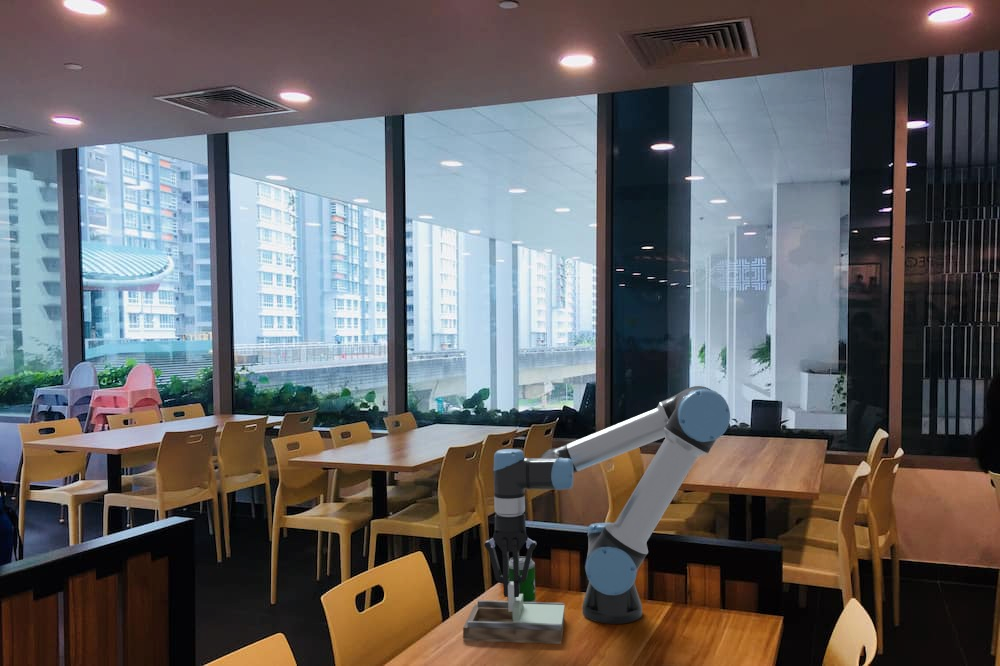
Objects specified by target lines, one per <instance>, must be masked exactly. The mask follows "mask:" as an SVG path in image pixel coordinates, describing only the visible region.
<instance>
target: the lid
mask: <svg viewBox="0 0 1000 666" xmlns="http://www.w3.org/2000/svg"><path fill="white" fill-rule="evenodd" d="M565 606H566V605H565V604H564V605H548V604H523V594H519V597H516V599H515V601H514V604H513V607H512V610H513V620H514V621H513V623H541V624H561V627H562V623H563V616H564V617H565V608H566V607H565Z"/></svg>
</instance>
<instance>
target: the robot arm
mask: <svg viewBox="0 0 1000 666" xmlns="http://www.w3.org/2000/svg"><path fill="white" fill-rule="evenodd" d="M730 412H731V411H730V408H729V404H728V403H727V401H726V399H725V398H724V397H723V396H722V394H720V393H719V392H717V391H716V390H712V389H711V388H709V387H706V386H702V385H701V386H700V385H694V386H691V387H688V388H686V389H683V390H682V391H680V392H679V393H676V394H675V395H673V396H670V397H668V398H667V399H664V400H662V401H659V403H658V405H657V406H656V408H653V409H651V410H648V411H646V412H643V413H640V414H638V415H636V416H633V417H630V418H629V419H625V420H623V421H621V422H618V423H616V424H613V425H611V426H608V427H606V428H604V429H601V430H598V431H596V432H593V433H591V434H588V435H587V436H584V437H581V438H579V439H576V440H574V441H571V442H569V443H566V444H564V445H562V446H559V447H557V448H551V449H548V450H546V451H544V453H543V454H542V455H541V457H537V458H536V457H533V458H531V457H525V453H524V451H523V450H522V449H517V448H505V449H504V448H503V449H498V450H497V451H496V452H495V453H494V455H493V469H492V472H493V490H494V491H493V493H494V494H493V499H494V500H493V501H494V503H493V504H494V510H493V511H494V513H495V515H494V533H493V536H492V537H491V538H490V539H487V540H485V543H484V548H485V550H487V552H488V554H489V559H490V562H491V563H490V564H491V566H492V570H493V574H494V579H495V581H496V582H500V583H502V584H503V596H504V598H507V597H508V599H507V601H508V612H513V610H512V607H513V604H514V601H515V599H516V598H515V597H519V594H520V583H521V582H525V581H526V578H527V574H528V569H529V565H530V560H531V559H532V556H533V555H532V554H533V552H534V550H535V549H536V548H537V541H536V540H532V539H531V538H529V535H528V533H527V529H526V528H527V527H526V526H527V525H526V514H525V513H524V512H526V493H525V491H526V490H557V491H561V490H571V489H572V488H573V487H574V474H575V473H577V472H579V471H582V470H585V469H587V468H590V467H592V466H595V465H597V464H600V463H602V462H605V461H608V460H610V459H613V458H615V457H617V456H621V455H623V454H625V453H628V452H631V451H633V450H635V449H638V448H640V447H643V446H646V445H649V444H652V443H653V442H656V441H658V440H661V439H664V438H665V439H664V440H663V442H662V443H661V445H660V447H659V448H658V450H657V452H656V453H655V455H654V456H653V457H652V460H651V462H650V463H649V465H648V467H647V469H646V470H645V472H644V474H643V475H642V477H641V478H640V479H639V481H638V483H637V485H636V487H635V488H634V490H632V493H631V495H630V497H629V498H628V500H627V502H626V503H625V505H624V507H622V508H623V509H622V510H621V512H620V513H619V515H618V516H617V518H616V520H615V521H614V522H597V523H596V522H595V523H591V524H589V526H588V530H587V531H588V532H587V534H586V535H587V537H588V538H587V539H588V540H587V541H588V542H587V543H588V547H587V548H588V549H587V554H586V555H587V556H586V559H585V563H584V569H585V573H586V578H587V581H588V585H587V588H586V592H585V596H584V599H583V602H582V615H583V616H584V618H586V619H589V620H591V621H594V622H597V623H601V624H609V625H618V624H619V625H621V624H627V623H628V624H630V623H633V622H636V621H638V620H640V619H641V618H642V616H643V605H642V602H641V598H640V596H639V592H638V591H637V587H636V584H635V581H636V578H637V572H638V570H639V568H640V566H641V565H642V564H643V562H644V560H645V558H646V557H647V555H648V554H649V550H648V544H647V542H648V541H649V539H650V538H651V536H652V534H653V532H654V531H655V529H656V527H657V526H658V524H659V522H660V520H661V519H662V517H663V515H664V514H665V513H666V511H667V509H668V507H669V505H670V504H671V502H672V501H673V499H674V497H675V496H676V494H677V493H678V490H679V489H680V488H681V486H682V484H683V483H684V480H685V479H686V477H687V475H688V474H689V473H690V471H691V469H692V468H693V466H694V465H695V463H696V461H697V460H698V458H699V457H701V456H706V455H708V454H709V452H710V450H711V449H712V448H713V446H714V444H715V442H716V441H717V440H718V439H719V438H720V437H722V436H723V435H724V434H725V432H726V431H727V430H728V427H729V424H730V421H731V413H730ZM525 544H526V549H527V551H526V555H525V557H526V558H525V563H524V567H523V572H522V575H521V576H520V572H519V556H520V550H522V548H523V546H524V545H525ZM496 545H497V547H498V549H500V551H501V553H502V554H501V555H502V556H501V557H502V571H501V567H500V562H499V559H498V556H497V551H496V548H495V547H496ZM510 552H511V553H512V558H513V575H514V582H510V581H509V579H510V578H509V561H510V554H509V553H510Z"/></svg>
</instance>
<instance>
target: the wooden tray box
mask: <svg viewBox="0 0 1000 666" xmlns="http://www.w3.org/2000/svg"><path fill="white" fill-rule="evenodd" d="M523 604H548V605H565V602H548V601H547V602H545V601H544V602H542V601H535V602H523ZM513 621H514V620H513V612H508V600H484V599H483V600H482V599H481V600H477V604H474V605H473V607H472V608H471V611H470V613H469V614H468V617H467V619H466V620H465V623H464V625H463V627H462V628H463V629H462V632H463V633H462V639H463V641H467V642H468V641H472V642H492V643H493V642H494V643H495V642H498V643H499V642H500V643H519V644H520V643H522V644H525V643H526V644H549V645H550V644H553V645H561V644H562V639H563V638H562V637H563V631H564V625H565V615H564V616H563V623H562V627H561V624H541V623H513Z"/></svg>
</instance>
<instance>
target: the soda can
mask: <svg viewBox="0 0 1000 666" xmlns="http://www.w3.org/2000/svg"><path fill="white" fill-rule="evenodd" d="M525 558H526V556H520V555H519V572H520V576H521V575H522V572H523V567H524V563H525ZM535 566H536V563H535V561H534V560H532V558H531V560H530V565H529V569H528V574H527V578H526V581H525V582H521V583H520V594H523V602H536V567H535ZM509 578H510V579H509V581H510V582H514V575H513V557H510V558H509ZM506 598H507V600H508V597H506ZM515 598H516V597H515Z"/></svg>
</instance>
